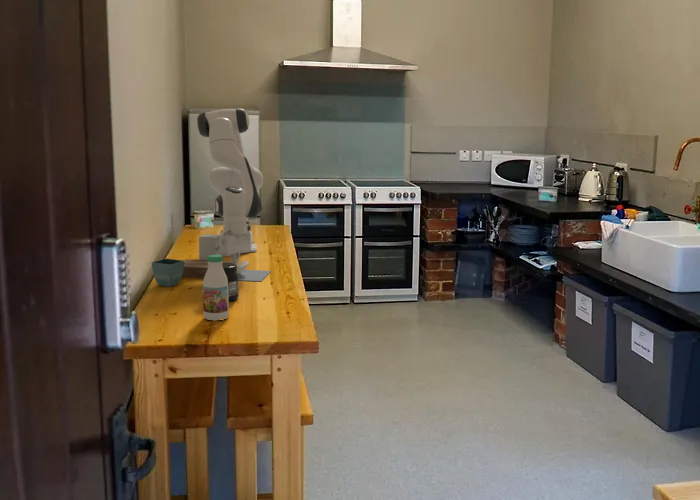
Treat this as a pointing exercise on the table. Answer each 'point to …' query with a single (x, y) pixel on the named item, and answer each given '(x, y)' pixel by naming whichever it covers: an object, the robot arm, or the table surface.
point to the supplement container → (231, 280)
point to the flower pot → (168, 271)
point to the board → (196, 268)
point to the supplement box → (208, 246)
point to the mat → (253, 275)
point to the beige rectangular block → (241, 266)
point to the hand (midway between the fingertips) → (235, 263)
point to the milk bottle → (215, 290)
